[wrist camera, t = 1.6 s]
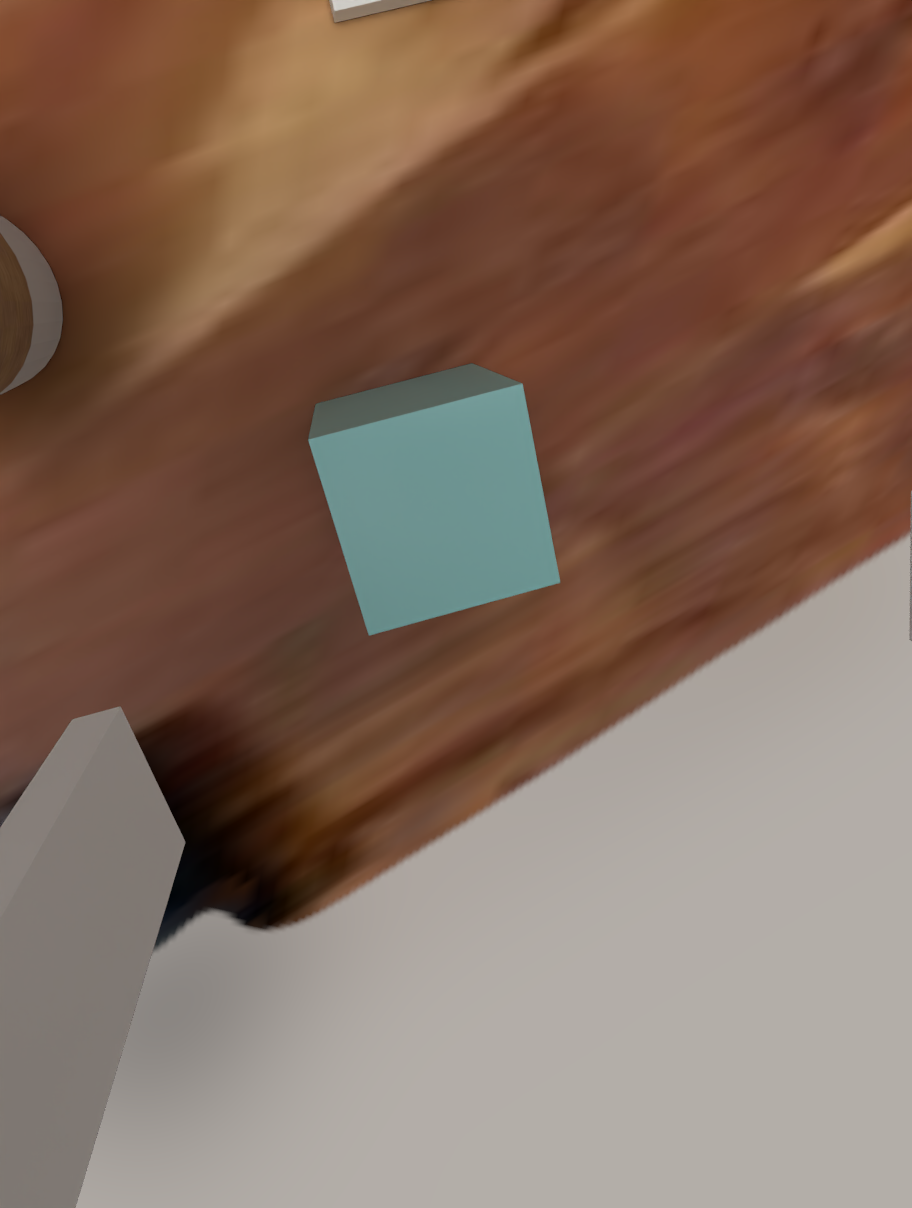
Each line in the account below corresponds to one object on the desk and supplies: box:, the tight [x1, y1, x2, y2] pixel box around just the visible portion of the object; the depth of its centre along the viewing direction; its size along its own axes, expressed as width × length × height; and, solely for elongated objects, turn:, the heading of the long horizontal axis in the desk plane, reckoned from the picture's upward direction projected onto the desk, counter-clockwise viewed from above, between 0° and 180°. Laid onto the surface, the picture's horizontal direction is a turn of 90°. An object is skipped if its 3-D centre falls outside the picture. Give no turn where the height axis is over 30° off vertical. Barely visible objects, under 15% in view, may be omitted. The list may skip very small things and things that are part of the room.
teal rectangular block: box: [308, 363, 560, 635], centre depth 25 cm, size 6×6×8 cm
